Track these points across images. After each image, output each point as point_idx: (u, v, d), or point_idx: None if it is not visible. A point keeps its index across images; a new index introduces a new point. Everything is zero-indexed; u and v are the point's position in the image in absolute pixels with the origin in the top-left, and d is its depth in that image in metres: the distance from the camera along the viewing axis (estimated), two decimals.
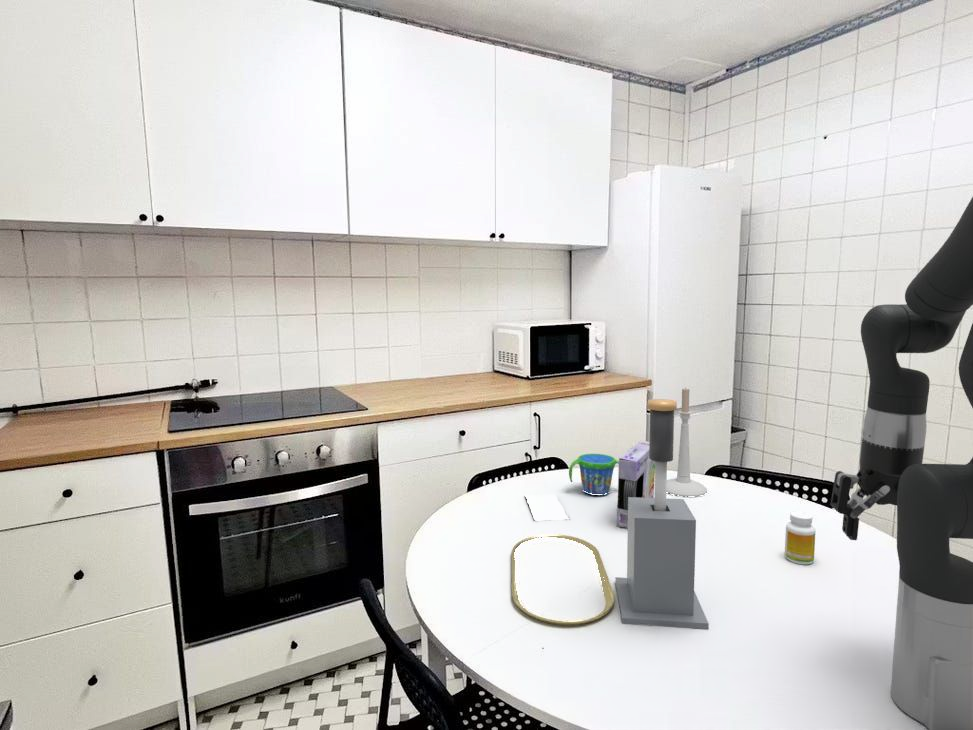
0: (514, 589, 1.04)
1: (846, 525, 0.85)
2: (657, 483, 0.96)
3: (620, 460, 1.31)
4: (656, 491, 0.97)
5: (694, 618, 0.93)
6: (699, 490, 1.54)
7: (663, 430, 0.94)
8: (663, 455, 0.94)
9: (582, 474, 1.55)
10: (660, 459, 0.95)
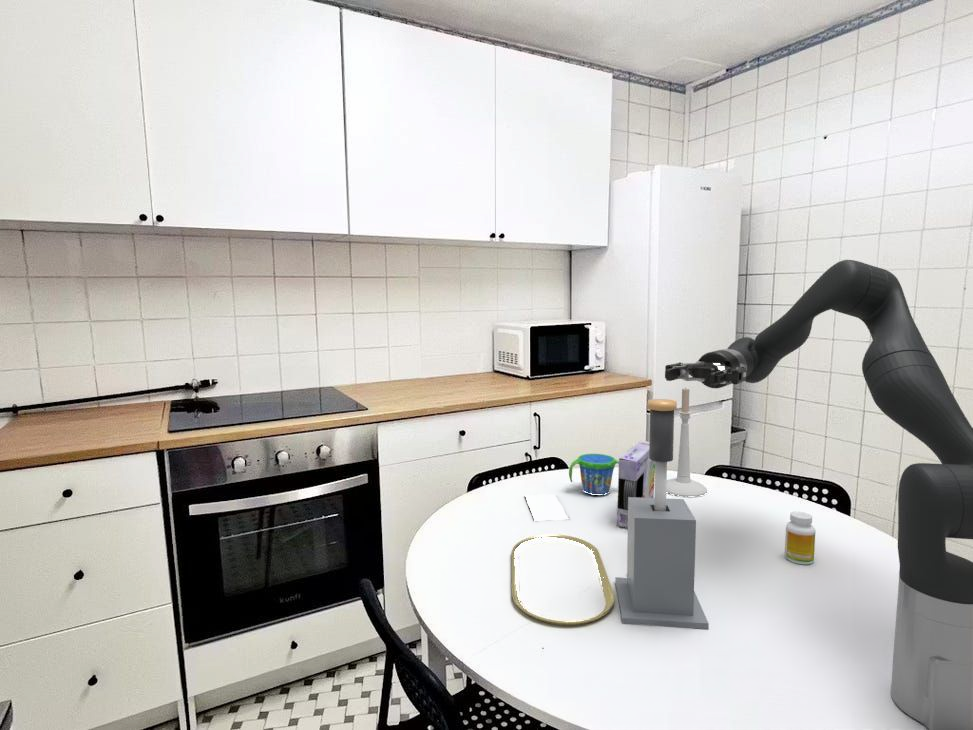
0: (514, 589, 1.04)
1: None
2: (657, 483, 0.96)
3: (620, 460, 1.31)
4: (656, 491, 0.97)
5: (694, 618, 0.93)
6: (699, 490, 1.54)
7: (663, 430, 0.94)
8: (663, 455, 0.94)
9: (582, 474, 1.55)
10: (660, 459, 0.95)
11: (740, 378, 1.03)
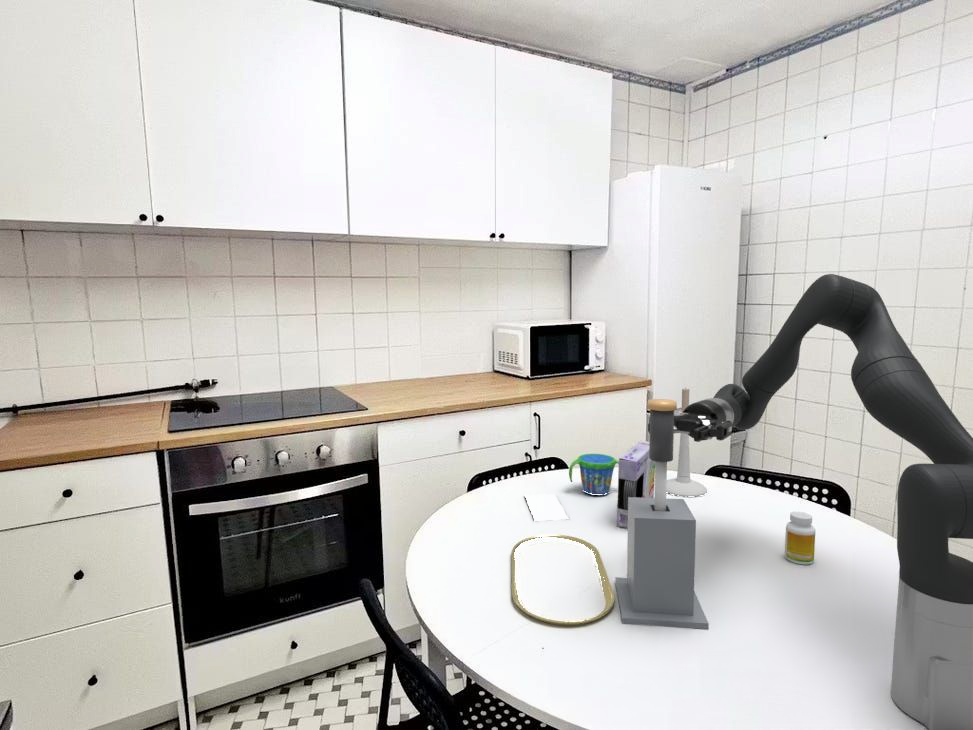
0: (514, 589, 1.04)
1: None
2: (657, 483, 0.96)
3: (620, 460, 1.31)
4: (656, 491, 0.97)
5: (694, 618, 0.93)
6: (699, 490, 1.54)
7: (663, 430, 0.94)
8: (663, 455, 0.94)
9: (582, 474, 1.55)
10: (660, 459, 0.95)
11: (725, 433, 0.99)
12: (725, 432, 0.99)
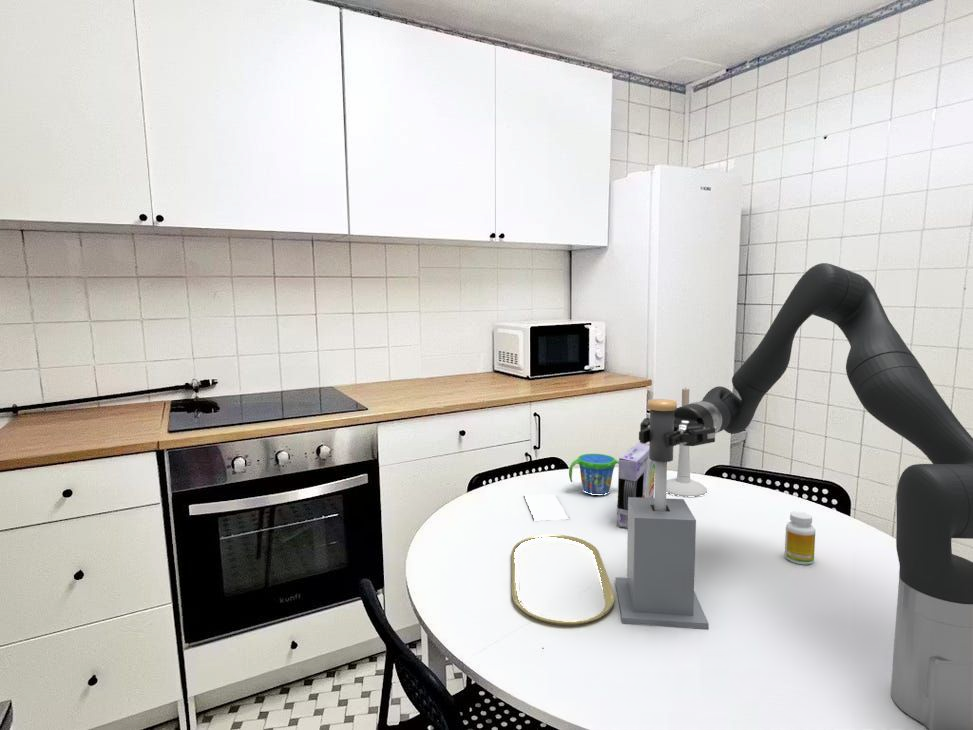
0: (514, 589, 1.04)
1: None
2: (657, 483, 0.96)
3: (620, 460, 1.31)
4: (656, 491, 0.97)
5: (694, 618, 0.93)
6: (699, 490, 1.54)
7: (663, 430, 0.94)
8: (663, 455, 0.94)
9: (582, 474, 1.55)
10: (660, 459, 0.95)
11: (701, 439, 0.95)
12: (701, 438, 0.95)
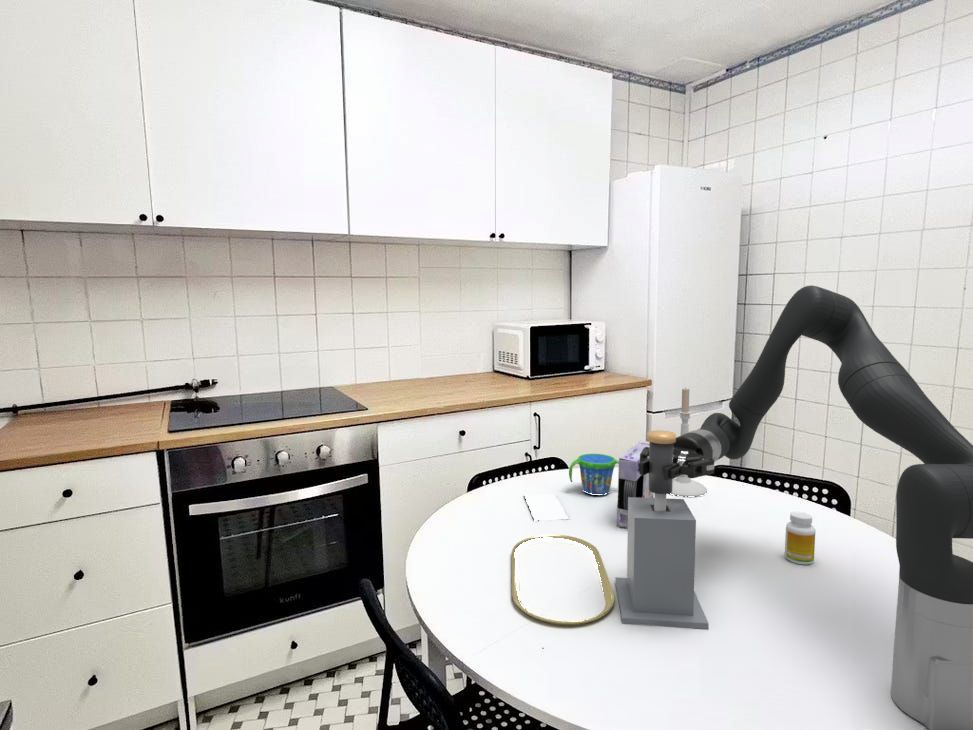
0: (514, 589, 1.04)
1: None
2: None
3: (620, 460, 1.31)
4: None
5: (694, 618, 0.93)
6: (699, 490, 1.54)
7: (662, 462, 0.94)
8: (662, 487, 0.95)
9: (582, 474, 1.55)
10: (659, 491, 0.95)
11: (700, 471, 0.96)
12: (700, 470, 0.96)
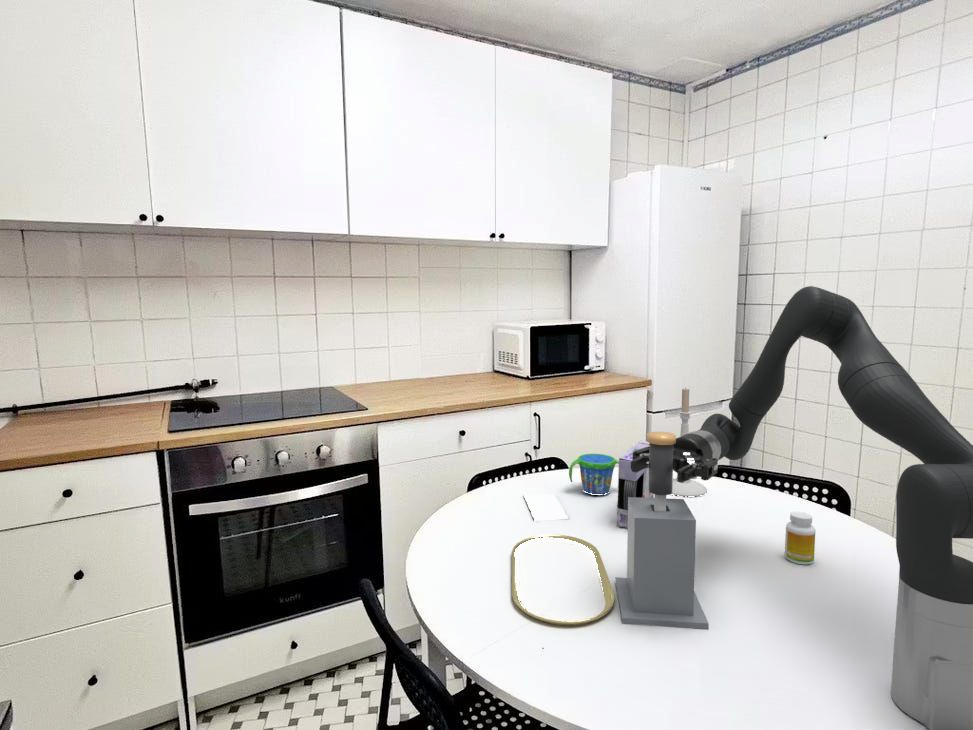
0: (514, 589, 1.04)
1: None
2: None
3: (620, 460, 1.31)
4: None
5: (694, 618, 0.93)
6: (699, 490, 1.54)
7: (662, 463, 0.94)
8: (662, 488, 0.95)
9: (582, 474, 1.55)
10: (659, 492, 0.95)
11: (710, 472, 0.96)
12: (710, 471, 0.96)
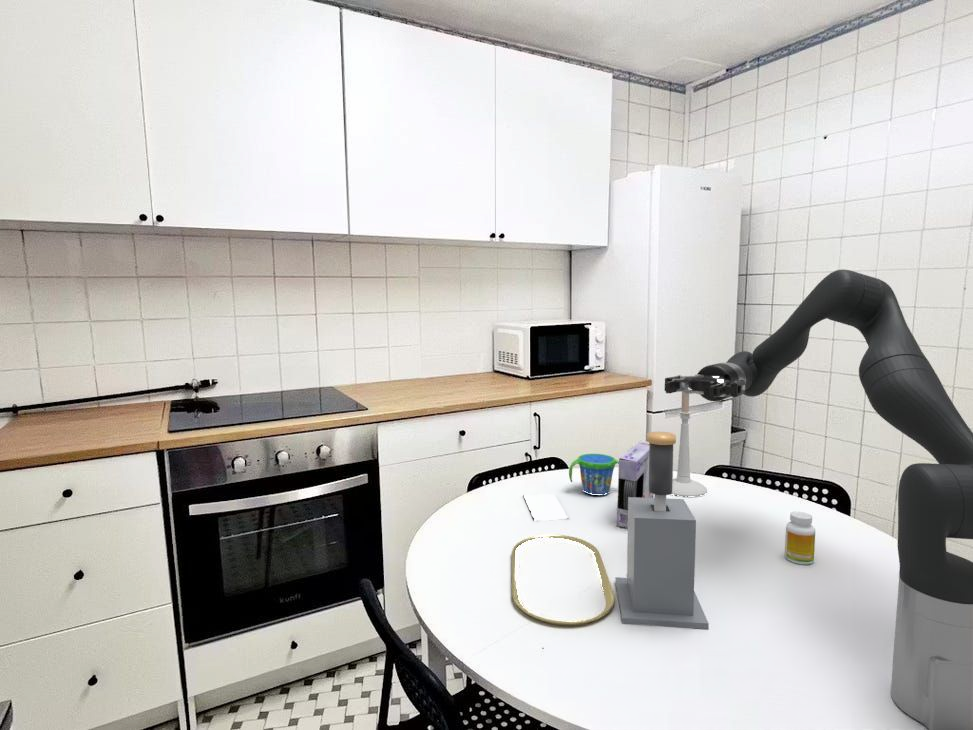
0: (514, 589, 1.04)
1: None
2: None
3: (620, 460, 1.31)
4: None
5: (694, 618, 0.93)
6: (699, 490, 1.54)
7: (662, 463, 0.94)
8: (662, 488, 0.95)
9: (582, 474, 1.55)
10: (659, 492, 0.95)
11: (739, 391, 1.04)
12: (739, 390, 1.04)
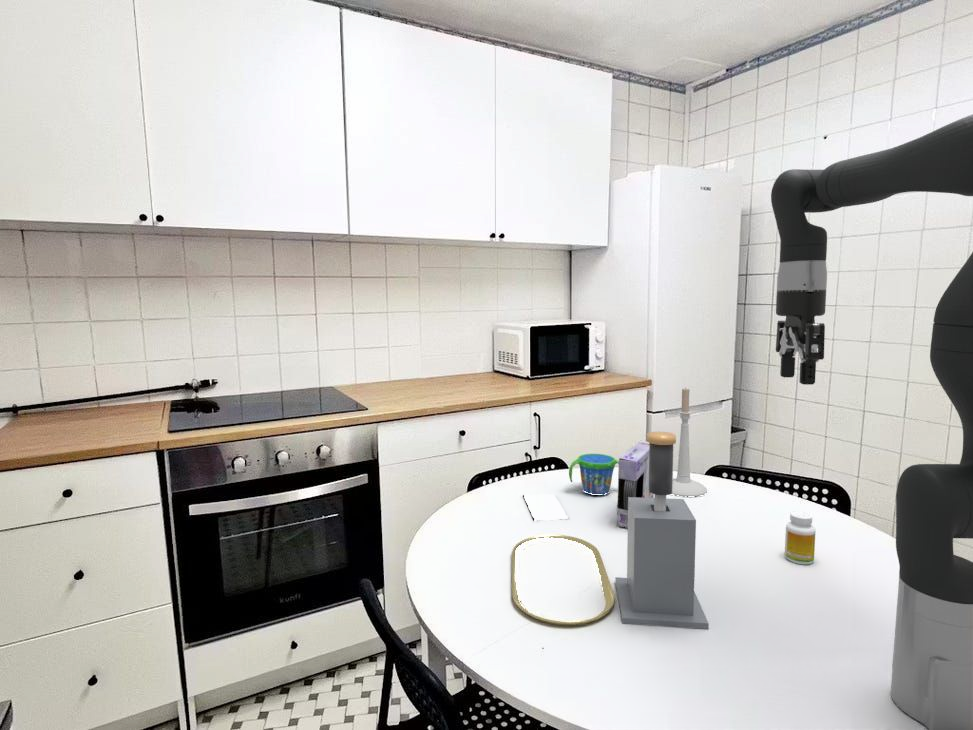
0: (514, 589, 1.04)
1: None
2: None
3: (620, 460, 1.31)
4: None
5: (694, 618, 0.93)
6: (699, 490, 1.54)
7: (662, 463, 0.94)
8: (662, 488, 0.95)
9: (582, 474, 1.55)
10: (659, 492, 0.95)
11: (819, 344, 0.90)
12: (817, 344, 0.90)
